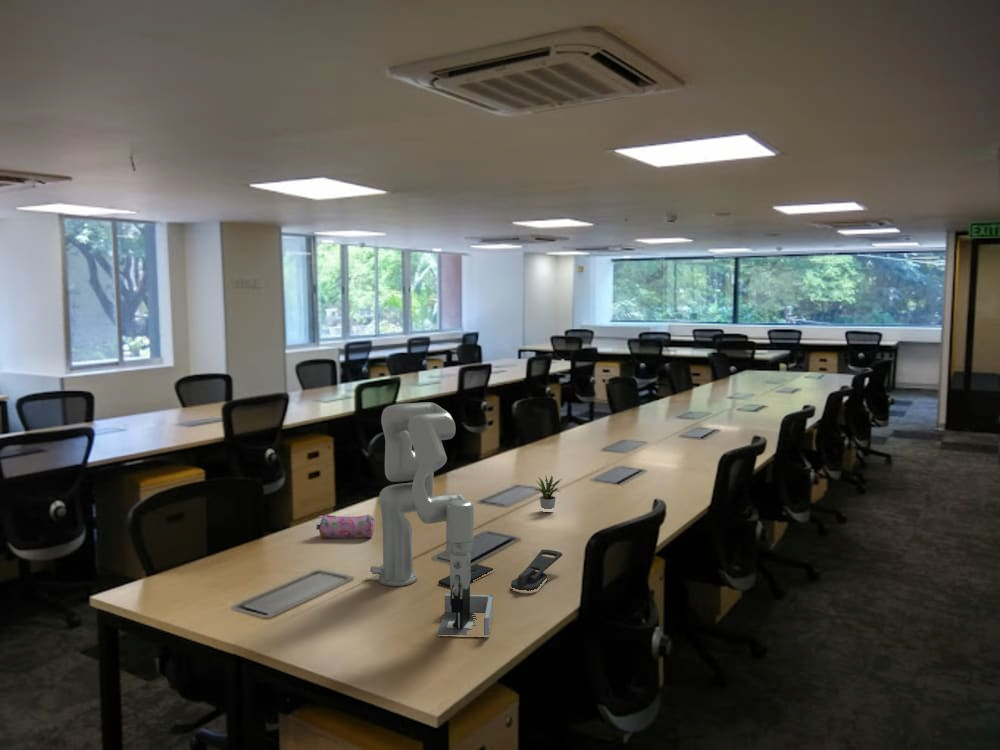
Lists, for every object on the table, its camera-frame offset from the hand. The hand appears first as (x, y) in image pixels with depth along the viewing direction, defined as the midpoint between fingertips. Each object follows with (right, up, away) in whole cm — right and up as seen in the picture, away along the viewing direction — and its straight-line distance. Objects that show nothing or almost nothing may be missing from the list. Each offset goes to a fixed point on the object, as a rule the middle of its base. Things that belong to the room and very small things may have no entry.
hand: (459, 604), depth 205 cm
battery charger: (0, -6, +1) cm, 6 cm away
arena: (+2, -6, +2) cm, 7 cm away
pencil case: (-48, +1, +81) cm, 94 cm away
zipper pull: (+23, -4, +36) cm, 43 cm away
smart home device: (0, -4, +38) cm, 38 cm away
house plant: (+33, +4, +117) cm, 121 cm away
